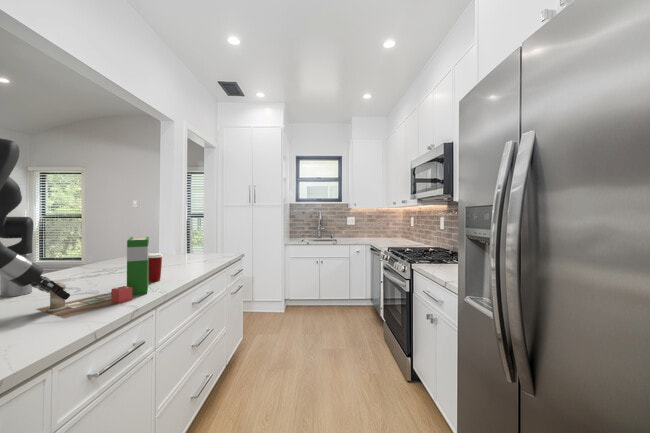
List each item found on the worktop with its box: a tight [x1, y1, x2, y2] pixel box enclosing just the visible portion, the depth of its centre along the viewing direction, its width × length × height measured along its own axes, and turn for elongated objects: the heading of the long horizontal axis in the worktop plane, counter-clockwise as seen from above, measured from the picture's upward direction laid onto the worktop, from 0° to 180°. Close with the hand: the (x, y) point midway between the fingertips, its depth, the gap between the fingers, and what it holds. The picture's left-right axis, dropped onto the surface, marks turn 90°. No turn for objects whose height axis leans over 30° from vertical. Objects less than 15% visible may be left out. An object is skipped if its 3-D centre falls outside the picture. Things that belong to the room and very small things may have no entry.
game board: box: [35, 293, 133, 319], centre depth 108 cm, size 20×22×1 cm
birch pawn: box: [47, 282, 68, 312], centre depth 102 cm, size 6×6×10 cm
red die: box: [110, 285, 133, 304], centre depth 113 cm, size 5×5×5 cm
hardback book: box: [126, 236, 150, 297], centre depth 129 cm, size 18×7×24 cm, turn 31°
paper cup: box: [148, 252, 164, 283], centre depth 147 cm, size 8×8×14 cm
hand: (64, 296), depth 104 cm, fingers closed on birch pawn, 4 cm apart
